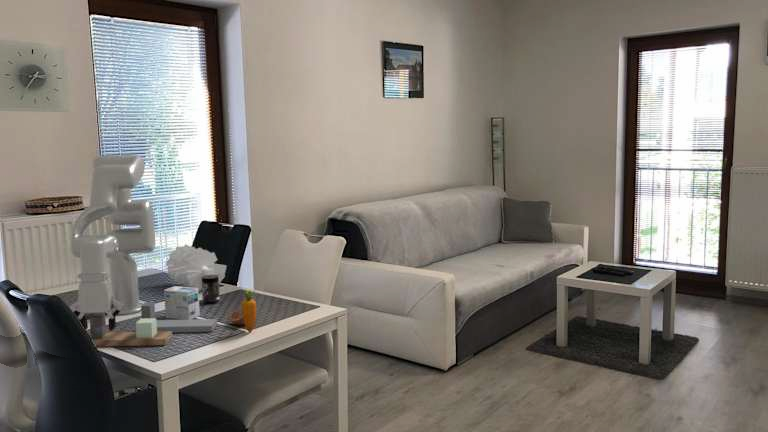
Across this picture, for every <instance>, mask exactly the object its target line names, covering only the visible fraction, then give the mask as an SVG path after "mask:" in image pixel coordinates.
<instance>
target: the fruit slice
mask: <svg viewBox="0 0 768 432" xmlns="http://www.w3.org/2000/svg"><path fill="white" fill-rule="evenodd" d="M228 320H229V321H230V322H231V323H232V324H234V325H237V326H238V325H239V326H242V325H245V324H244V320H243V316H242V311H240V310H238V309H235V308H233V310H232V311H231V312H230V314H229V317H228Z"/></svg>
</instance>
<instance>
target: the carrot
mask: <svg viewBox="0 0 768 432" xmlns="http://www.w3.org/2000/svg"><path fill="white" fill-rule="evenodd" d="M254 293H255V291H254V290H253V291H252V290H251V289H249V290H248V289H245V291H244V296H245V298H246V299H244V300H242V302H241V313H242V316H243V320H244V324H243V325H244V326H245V328H246V329H247V331H248V332H249V333H251V332H252V331H253V329H254V328H255V324H256V320H257V302H256V300H255V299H252V298H253V294H254Z"/></svg>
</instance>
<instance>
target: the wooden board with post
mask: <svg viewBox="0 0 768 432" xmlns="http://www.w3.org/2000/svg"><path fill="white" fill-rule="evenodd" d="M89 327H90V330H89V332H90V339H91V338H92V340H93V342H94V344H95V345H96V346H95V347H125V346H126V347H128V346H129V347H135V346H166V345H167V344H168V343H169V342H170V340H172V338H173V332H172V331H157V333H156V335H155V336H154V337H153V338H137V336H136V331H123V332H121V331H120V332H119V331H118V332H117V331H115V332H113V331H110V332H107V320H106V313H93V315H91V316H90V317H89Z"/></svg>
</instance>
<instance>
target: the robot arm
mask: <svg viewBox="0 0 768 432" xmlns="http://www.w3.org/2000/svg"><path fill="white" fill-rule="evenodd" d="M92 165H93V172H92V179H91V181H92V182H91V189H90V200H89V205H88V207H86V208H85V209H84V210H83V211H82V212H81V213H80V214H79V215H78V217H77V218H76V220H75V222H74V223H73V225H72V230H71V237H70V252H71V254H72V256H74V257H75V258H78V259H80V271H81V273H79V274H77V279H81V281H80V282H79V283H78V291H77V301H75V302H74V303H73V304H70V306H69V309H70V310H71V312H73V314H74V316H76V317H77V319H78V320H79V324H80V323H81V324H82V326H83V327H84V329H85V331H86V330H88V328H89V327H88V323H89V322H88V317H87V316H86V315H87V314H96V313H105V314H107V316H108V317H109V318H108V331H110V332H113V330H114V329H115V328H116V327H117V323H116V322H117V321H116V317H117V316H118V315H129V314H135V313H139V312H141V306H142V305H143V304H144V303H140V294H139V278H138V264H137V261H136V260H135V259H134V257H133V256H132V254H148V253H152V252H153V251H154V249H155V248H156V230H155V217H154V216H155V215H154V208H153V205H152V203H151V202H150V201H149V200H147V199H133V198H132V192H131V189H134V188H136V187H137V186H138V185H139V183H140V181H141V179H142V177H143V175H144V173H145V166H146V165H145V161H144V159H143V157H141V156H140V155H137V154H120V155H119V154H111V155H110V154H108V155H107V154H105V155H99V156H96V157H95V158H94V159H93V161H92ZM106 216H108V221H109V222H110V224H111V225H113V226H140V227H137V228H131V227H129V228H127V227H126V228H124V227H123V228H115V229H112V230H109V231H108V232H107V233H106V234H84V233H85V230H86V229H87V228H88V227H89V225H91V224H93V223H94V222H96V221H98V220H99V219H101V218H104V217H106ZM107 258H109V270H110V279H108V266H107V265H108V264H107Z"/></svg>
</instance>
